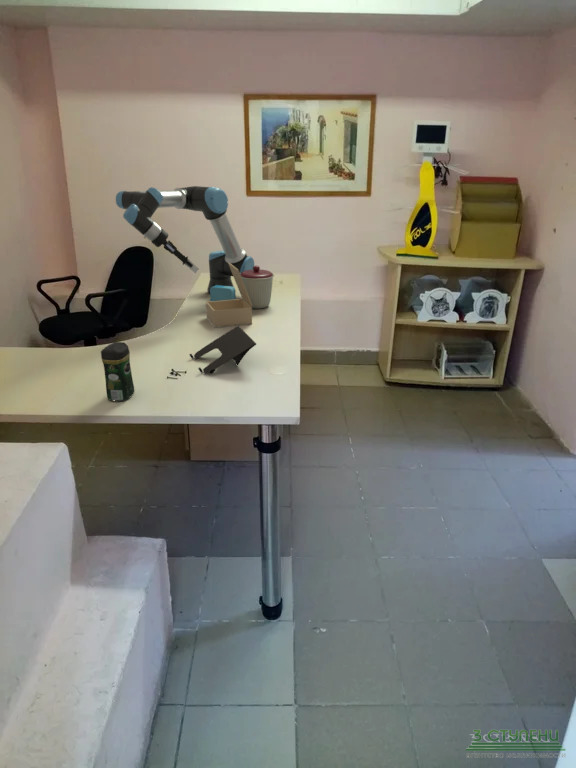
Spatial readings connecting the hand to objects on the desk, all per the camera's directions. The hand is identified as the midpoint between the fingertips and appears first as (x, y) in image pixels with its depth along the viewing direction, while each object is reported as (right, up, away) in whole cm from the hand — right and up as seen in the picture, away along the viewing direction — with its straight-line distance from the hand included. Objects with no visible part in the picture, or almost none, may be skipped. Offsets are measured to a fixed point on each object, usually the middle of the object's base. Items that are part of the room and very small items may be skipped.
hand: (196, 270), depth 256 cm
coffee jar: (-15, -56, -64) cm, 86 cm away
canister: (+25, -11, +38) cm, 47 cm away
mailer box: (+13, -21, +14) cm, 29 cm away
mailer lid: (+19, -4, +9) cm, 21 cm away
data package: (+8, -14, +32) cm, 35 cm away
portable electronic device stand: (+15, -43, -35) cm, 58 cm away
